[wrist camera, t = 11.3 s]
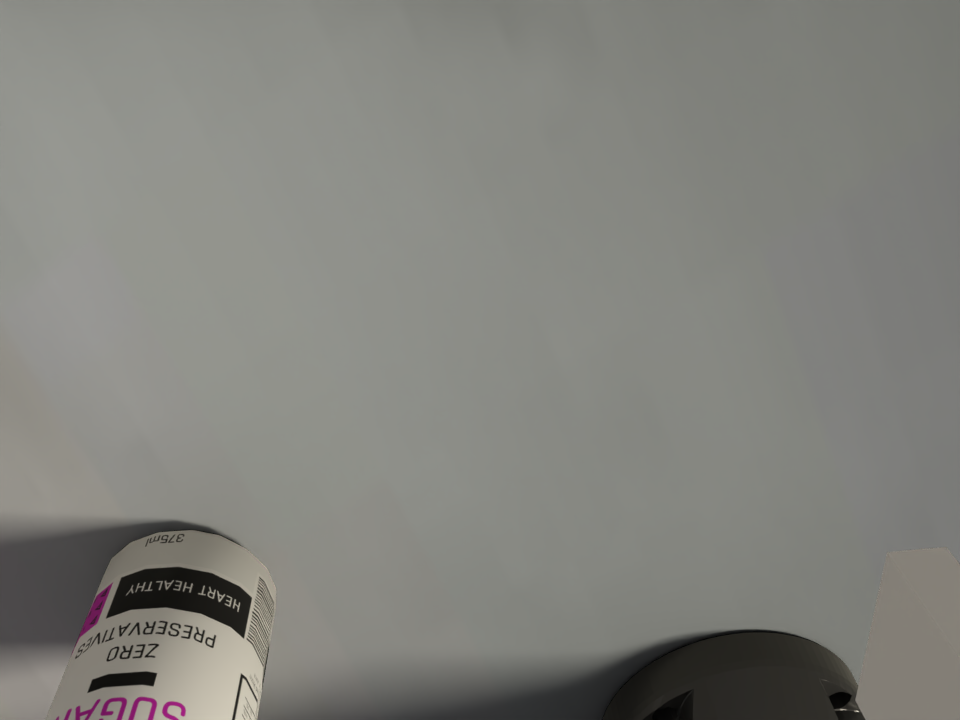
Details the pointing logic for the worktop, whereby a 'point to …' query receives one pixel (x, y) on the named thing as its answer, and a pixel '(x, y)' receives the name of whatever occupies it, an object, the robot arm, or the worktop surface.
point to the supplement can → (173, 634)
